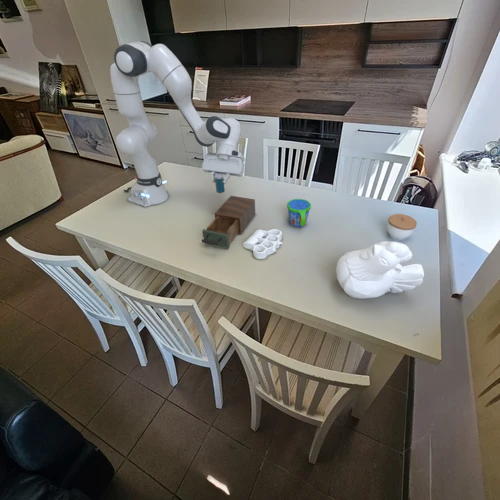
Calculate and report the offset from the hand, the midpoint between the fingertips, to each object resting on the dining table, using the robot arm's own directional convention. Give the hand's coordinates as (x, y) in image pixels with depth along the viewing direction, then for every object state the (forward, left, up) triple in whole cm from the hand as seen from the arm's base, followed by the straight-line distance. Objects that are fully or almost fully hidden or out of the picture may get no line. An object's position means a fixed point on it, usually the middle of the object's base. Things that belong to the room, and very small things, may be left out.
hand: (218, 182), depth 129 cm
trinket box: (+80, +8, -18) cm, 83 cm away
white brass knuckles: (+28, -17, -18) cm, 37 cm away
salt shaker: (0, +1, -5) cm, 5 cm away
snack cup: (+37, +4, -18) cm, 41 cm away
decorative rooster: (+72, -30, -18) cm, 80 cm away
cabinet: (+9, -4, -17) cm, 20 cm away
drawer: (+9, -19, -16) cm, 27 cm away
